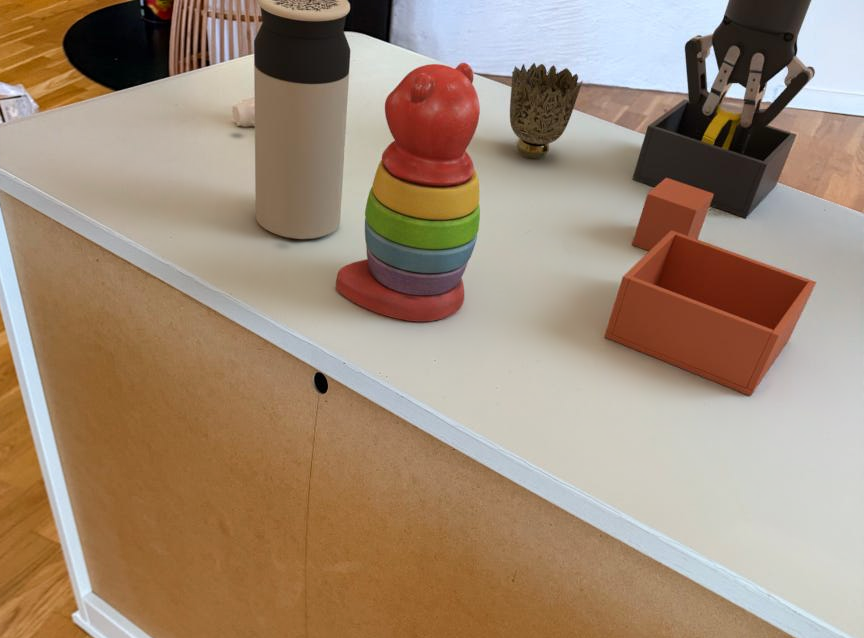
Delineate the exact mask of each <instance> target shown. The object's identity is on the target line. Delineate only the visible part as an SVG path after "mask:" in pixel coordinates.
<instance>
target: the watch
mask: <svg viewBox="0 0 864 638" xmlns="http://www.w3.org/2000/svg"><path fill="white" fill-rule="evenodd" d="M742 110H743V106H741V105H739V104H737V103H733V102H722V103H721V104H720V105H719V106H718V109H717V115H716V117H715V118H714V119H713V120H712V122H711V123H710V125H709V126H708V128H707V130H706V132H705V133H704V136H703V138H702V142H705V143H708V144H711V145H714V142H715V140H716V138H717V136H718V134H719V133H720V131H721V129H722V127H723V126H724V125H725V124H726V123H727V122H728V120H732V125H731V128H730V132H729V135H728V137H727V139H726V141H725V143H724V145H723V147H722V148H724V149H727V150H728V149H729V146H730V143H731V140H732V137H733V135H734V132H735V129H736V126H737V125H738V124H739V123H740V119H741V115H742Z"/></svg>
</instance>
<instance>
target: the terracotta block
mask: <svg viewBox="0 0 864 638" xmlns="http://www.w3.org/2000/svg"><path fill="white" fill-rule="evenodd" d="M713 195H714V194H713V193H710V192H707V191H704V190H701V189H698V188H695V187H693V186H690V185H687V184H684V183H681V182H678V181H675V180H672V179H669V178H665V179H664V180H663V181H662V182H661V183H659V184H658V185H657V186H656V187H653V188H652V189H651V190H650V191H648V193H647V194H646V198H645V200H644V204H643V206H642V210H641V213H640V217H639V220H638V223H637V226H636V230H635V234H634V236H633V239H632V242H631V245H632V246H635V247H638V248H640V249H643V250H645V251H648V252H649V251H650V250H651V249H652V248H653V247H654V246H655V245H656V244H657V243H659V242H660V241H661V240H662V239H663V238H664V237H665V236H666V235H667V234H668V233H669V232H670V231H671V230H672V231H675V232H677V233H681V234H683V235H686V236H689V237H692V238H695V239H697V240H699V237H700V234H701V231H702V228H703V226H704V223H705V220H706V217H707V215H708V212H709V209H710V207H711V206H710V204H711V201H712V198H713Z"/></svg>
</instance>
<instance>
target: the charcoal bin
mask: <svg viewBox="0 0 864 638" xmlns="http://www.w3.org/2000/svg"><path fill="white" fill-rule="evenodd" d="M701 117H702V111H701V109H700V108H699V107H698V106H697V105H693V104H691V103H690V102H689V99H682V100H680V102H678V103H677V104H675V105H674V106H673V107H671V108H670V109H668V111H666V112H665V113H664V114H662V115H661V116H659V117H658V118H657V119H655V120H654V121H653V122H652V123H650V124H648V125H647V128H646V131H645V133H644V138H643V141H642V145H641V148H640V151H639V155H638V158H637V162H636V165H635V168H634V172H633V176H632V180H634V181H636V182H639V183H643V184H645V185H648V186H651V187H653V188H655V187H656V186H657V185H658V184H659V183H661V182H662V181H663V180H664V179H665V178H669V179H672V180H675V181H678V182H681V183H684V184H687V185H690V186H693V187H695V188H698V189H701V190H704V191H707V192H710V193H713V194H714V195H713V198H712V201H711V204H710V206H709V207H712V208H715V209H718V210H721V211H724V212H727V213H730V214H733V215H735V216H738V217H741V218H744V219H747V218H748V217H749V216H750V214H752V212H753V211H754V210H755V209H756V208H757V207H758V206H759V205H760V204H761V203H762V201H764V200H765V198H766V197H767V196H768V195H769V194H770V193H771V192H772V191H773V189H774V188H775V187H776V186H777V184H778V182H779V179H780V177H781V175H782V172H783V170H784V167H785V165H786V162H787V160H788V158H789V155H790V153H791V150H792V148H793V145H794V143H795V141H796V138H797V133H794V132H791V131H788V130H784V129H781V128H778V127H775V126H772V125H769V124H768V125H767V126H762V125H758V126H754V127H753V130H752V133H751V135H750V138H749V141H748V143H747V146H746V149H745V151H744V152H743V154H739V153H736V152H733V151H730V150H727V149H724V148H722V147H723V145H724V143H725V141H726V139H727V137H728V135H729V132H730V128H731V125H732V120H728V122H727V123H726V124H725V125H724V126H723V127H722V129H721V131H720V133H719V134H718V136H717V138H716V140H715V142H714V145H711V144H708V143H705V142H702V141H699V140H696V139H694V138H695V135H696V132H697V129H698V126H699V123H700V120H701Z"/></svg>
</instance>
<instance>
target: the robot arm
mask: <svg viewBox="0 0 864 638" xmlns="http://www.w3.org/2000/svg"><path fill="white" fill-rule="evenodd" d="M811 2H812V0H728V2H727V5H726V8H725V11H724V14H723V18H722V20H721V22H720V24H718V25H717V27H716V28H715V29H714V31H713V33H711V34H705V35H704V36H703V35H701V34H697V35H696V36H693V37H691V38H690V39H689V40H688V41H686V43H685V44H684V58H685V69H686V70H685V71H686V83H687V95H688V101H689V102H690V103H691V104H693V105H697V106H698V107H699V108H700V109H701V111H702V117H701V120H700V123H699V126H698V129H697V132H696V135H695V138H694V139H696V140H699V141H702V138H703V136H704V133H705V132H706V130H707V128H708V126H709V125H710V123H711V122H712V120H713V119H714V118H715V117H716V115H717V109H718V106H719V105H720V104H721V103H724V99H725V98H726V96H727V93H728V92H729V90H730V88H731V87H732V85H733V84H739V85H740V86H742V87H743V88H745V92H744V96H743V106H742V107H743V110H742V115H741V119H740V123H739V124H738V125H737V126H736V129H735V132H734V135H733V137H732V140H731V143H730V146H729V149H728V150H730V151H733V152H736V153H739V154H743V152H744V151H745V149H746V146H747V143H748V141H749V138H750V135H751V133H752V130H753V127H754V126H758V125H762V126H767V125H768V126H769V125H770V124H771V122H773V121H774V120H775V119H776V118H777V117H778V116H779V115H780V114H781V113H782V111H784V109H785V108H787V106H788V105H789V104H790V103H791V102H792V101H793V100H794V98H795V97H796V96H798V94H799V93H800V92H801V91H802V90H803V89H804V88H805V87H806V85H807V84H809V83H810V81H812V79H813V78H814V77H815V74H816V70H815V68H814V67H813V66H810V65H809V66H806V65H805V64H804V63H803V62H802V61H801V59H800V58H798V57H797V54H798V37H799V34H800V31H801V29H802V26H803V25H804V24H803V23H804V21H805V19H806V15H807V13H808V10H809V7H810V5H811ZM711 49H713V53H714V56H715V61H716V62H715V63H716V66H717V71H718V73H716V76H715V78H714V81H713V83H712V86H711V87H710V91H708V78H707V65H706V64H707V63H706V62H707V61H706V59H707V58H709V57H710V54H711ZM785 68H787V74H786V76H785V77H784V79H783V80H784V81H783V82H784V85H785V86H786V87H785V88H784V89H783V90H782V91H781V92H780V94H779V95H778V96H777V97H776V98H775V99H774V100H773V101H772V103H770V105H769V106H768V107H767V108H762V103H763V99H764V96H765V93H766V90H767V86H768V82H769V81H771V80H772V79H773V78H775V76H777V75H778V74H779V73H780V72H781V71H783V70H784V69H785Z"/></svg>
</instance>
